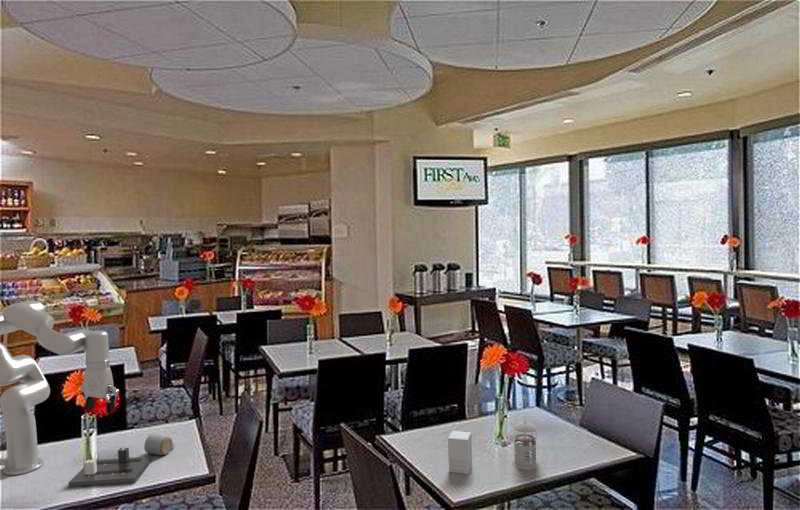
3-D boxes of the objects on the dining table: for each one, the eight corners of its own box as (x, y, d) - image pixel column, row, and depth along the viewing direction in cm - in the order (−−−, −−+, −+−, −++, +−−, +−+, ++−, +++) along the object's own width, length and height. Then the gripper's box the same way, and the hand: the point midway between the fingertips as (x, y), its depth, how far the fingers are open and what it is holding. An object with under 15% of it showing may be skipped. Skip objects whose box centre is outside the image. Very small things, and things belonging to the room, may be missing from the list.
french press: (506, 464, 205) (505, 397, 204) (523, 454, 214) (522, 389, 212) (530, 472, 199) (529, 403, 197) (546, 461, 207) (546, 394, 206)
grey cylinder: (161, 458, 217) (161, 439, 217) (144, 456, 220) (143, 437, 219) (179, 448, 228) (179, 429, 227) (162, 446, 230) (162, 427, 230)
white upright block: (85, 474, 200) (84, 462, 200) (88, 471, 202) (87, 459, 202) (94, 474, 200) (93, 461, 200) (97, 471, 203) (96, 458, 202)
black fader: (118, 462, 210) (117, 450, 209) (120, 459, 212) (120, 447, 212) (126, 461, 210) (126, 449, 210) (129, 459, 212) (128, 447, 212)
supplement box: (472, 465, 205) (472, 432, 204) (468, 474, 198) (467, 439, 197) (453, 463, 207) (452, 430, 206) (448, 472, 200) (447, 437, 199)
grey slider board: (68, 488, 195) (68, 482, 195) (91, 465, 213) (90, 460, 213) (135, 483, 197) (134, 477, 197) (151, 461, 215) (151, 455, 215)
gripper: (71, 365, 204) (73, 412, 205) (107, 369, 198) (110, 416, 199) (88, 360, 211) (91, 405, 212) (124, 364, 205) (127, 409, 206)
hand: (100, 410), depth 206 cm, fingers open, 9 cm apart
